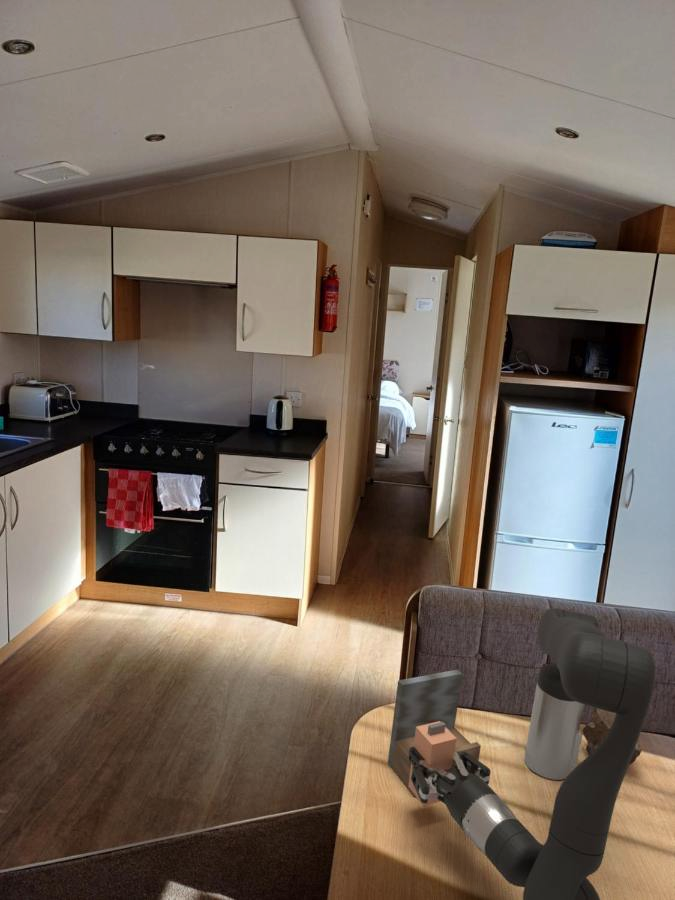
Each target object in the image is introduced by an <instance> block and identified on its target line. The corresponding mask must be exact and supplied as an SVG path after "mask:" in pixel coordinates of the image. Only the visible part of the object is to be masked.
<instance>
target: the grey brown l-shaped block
mask: <svg viewBox="0 0 675 900" xmlns="http://www.w3.org/2000/svg"><path fill="white" fill-rule="evenodd" d="M462 680H463V672H461V671H460V670H459V669H453V670H447V671H443V672H437V673H432V674H425V675H421V676H416V677H411V678H405V679H399V680H397V688H396V693H395V694H396V695H395V702H394V710H393V718H392V719H393V720H392V726H391V734H390V744H389V748H388V749H389V750H388V758H387V764H388V766H389V767H390V768H391V769H392V770H393V772H394V773H395V774H396V776H397V777H398V778H399V780H400V781H401V782H402V784H403V785H404V786H405V787H406V789H407V790H408V791H409V793H410V794H411V796H413V798H417V797H416V796H415V794H414V793H413V792H412V790H411V789H410V788H409V787H408V785H409V777H410V770H411V762H410V761H409V759H408V755H409V749H410V747H413V746H414V739H415V731H416V727H417V726H421V725H426V724H430V723H434V722H438V721H440V722H444V723H445V724H446V726H445V727H446V728H447V729H448V730H449V731H450V732H451V733H452V734H453V735H454V736H455V737H456V738H457V739H456V746H455V752H457V753H458V754H462V752H467V753H469V754H470V755H471V756H473V757H474V758H475V759H477V760H478V761H479V759H480V753H481V747H482V745H481V744H480V743H479V742H478V741H476V742H472V743H471V742H470V741H469V740H468V739H467V738H466V737H465V736H464V735H463V734H462V733H461V732H460V731H459V730H458V729H457V728H456V726H455V725H456V719H457V713H458V706H459V699H460V693H461V686H462ZM467 764H469V765H470V766H471V764H470V763H469V762H468V763H467Z"/></svg>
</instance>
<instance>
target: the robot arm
mask: <svg viewBox="0 0 675 900" xmlns="http://www.w3.org/2000/svg"><path fill="white" fill-rule="evenodd" d="M537 627H538V629H537V640H538V644H539V647H540V649H541V651H542V653H544V654H545V655H547V656H549V657H550V658H551V659H552V661H553V663H548V664H546V665H544V666H542V667H541V668H540V669H539V672H538V674H537V675H538V676H537V682H536V687H535V691H534V692H535V693H534V698H533V699H534V700H533V703H532V704H533V705H532V711H531V716H530V722H529V726H528V727H529V728H528V732H527V739H526V745H525V749H524V758H523V759H524V763H525V764H526V766H527V768H529V770H531V771H532V772H534V773H535V774H537V775H539V776H540V777H543V778H545V779H549V780H555V781H558V780H563V781H562V783H561V785H560V786H559V788H558V790H557V793H556V797H555V800H554V805H553V810H552V813H551V814H552V815H551V819H550V824H549V829H548V835H547V838H546V841H545V842H544V844H542V843H541V842H539V841H538V839H536V838H535V836H534V835H533V834H532V833H531V832H530V831H529V829H527V827H525V826H524V824H523V823H522V821H520V820H519V818H517V816H516V814H515V813H514V812H513V811H512V809H511V808H510V807H509V806H508V805H507V804H506V802H505V801H504V800H503V799H502V798H501V797H500V796H499V795H498V794H497V793H496V792H495V791H494V789H492V787H490V785H489V784H490V778H491V773H492V769H490V768H489V767H488V766H487V765H485V764H483V762H481V761H478V760H477V759H475V758H474V757H473V756H471V755H470V754H469V753H467V752H462V754H458V753H457V752H455V753H454V758H453V767H452V768H450V769H448V770H443V769H441V768H440V767H438V766H437V765H434V766H432V765H431V764H429V763H428V762H426V761H425V760H424V758H423V757H422V756H421V754H420V753H419V752H418V751H417V750H416V749H415V747H410V749H409V755H408V759H409V761H410V762H411V764H412V765H413V767H412V776H411V781H412V783H413V785H414V787H415V790H416V792H417V794H418V796H419V799H420V801H421V802H422V803H427V802H428V799H429V798H437V799H438V800H439V802H441V803H443V804H444V805H445V806H446V808H447V811H448V813H449V814H450V815H449V816H450V817H452V819H453V820H454V821H455V823H457V825H458V826H459V827H460V829H461V830H462V831H463V832H464V833H465V835H466V836H467V837H468V839H469V840H470V841H471V842H472V843H473V845H474V846H475V847H476V848H477V849H478V850H479V851H480V852H481V853H482V854H483V855H484V856H486V858H487V859H488V860H489V861H490V862H491V864H492V865H493V866H494V867H495V869H496V870H497V871H498V873H500V875H501V876H502V877H503V878H504V879H505V880H506V882H508V883H509V884H511V885H513V886H515V887H519V888H523V894H522V900H601V898H600V896H599V893H598V892H597V890H596V888H595V887H594V885H593V884H592V883H591V881H590V879H588V877H590V875H593V874H594V873H595V872H597V871H598V870H599V869H600V867H601V865H602V862H603V858H604V855H605V850H606V847H607V846H606V845H607V842H608V835H609V831H610V827H611V823H612V817H613V812H614V809H615V806H616V805H615V804H616V801H617V798H618V795H619V791H620V789H621V787H622V784H623V781H624V779H625V777H626V773H627V771H628V768H629V766H630V765H629V763H630V761H631V758H632V755H633V753H634V750H635V747H636V744H637V741H638V742H639V738H640V735H641V732H642V730H643V727H644V724H645V721H646V718H647V716H648V713H649V709H650V706H651V703H652V700H653V696H654V690H655V685H656V663H655V659H654V656H653V654H652V653H651V651H650V650H649V649H648V648H647V647H644V646H640V645H637V644H635V643H630V642H626V641H623V640H619V639H614V638H610V637H607V635H605V634H604V632H603V631H602V630H601V629H600V625H599V621H598V620H597V617H596V616H594V615H592V614H588V613H584V612H579V611H573V610H568V609H562V608H554V607H552V608H548V609H547V610H545V611H544V612H543V614H542V615H541V617H540V620H539V622H538V626H537ZM585 706H589V707H591V708H598V709H602V710H605V711H609V712H613V713H616V716H615V719H614V722H613V724H612V727H611V729H610V731H609V732H608V734H607V736H606V737H605V739H604V740H603V741H602V742H601V744H600V745H599V746H598V747H597V748H596V749H595V750H594V751H593V752H592V753H591V754H589V755H588V756H587V757H586V758H585V759H584V760H582V761H581V762H580V763H579V764H578V759H579V755H580V754H579V753H580V749H581V745H582V738H583V734H582V733H583V732H582V731H581V728H580V727H581V723H582V717H583V711H584V707H585ZM468 762H469V763H470V764H471V766H470V765H469V764H467V763H468ZM577 764H578V765H577ZM426 770H427V771H428V772H429V774H427V773H426ZM436 775H437V780H436ZM426 781H427V782H426ZM420 801H419V802H420ZM421 802H420V803H421ZM422 803H421V804H422Z"/></svg>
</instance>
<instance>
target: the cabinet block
mask: <svg viewBox="0 0 675 900" xmlns="http://www.w3.org/2000/svg"><path fill="white" fill-rule="evenodd" d="M445 726H446V724H445V723H444V722H440V721H438V722H434V723H430V724H426V725H421V726H417V727H416V731H415V739H414V746H413V747H415V749H416V750H417V751H418V752H419V753H420V754H421V756H422V757H423V758H424V760H425V761H426V762H428V763H429V764H431V765H432V766H434V765H437V766H438V767H440V768H441V769H443V770H448V769H450V768H452V767H453V758H454V753H455V746H456V739H457V738H456V737H455V736H454V735H453V734H452V733H451V732H450V731H449V730H448V729H447V728H446V727H445ZM412 767H413V765H412V764H411V770H410V777H409V785H408V787H409V788H410V789H411V790H412V792H413V793H414V794H415V796H416V797H415V798H416V799H417V800H418V801H419V803H420V804H421V805H422V806H423V807H426V806H430V805H432V804H436V803H439V802H440V801H439V800H438V799H437V798H429V799H428V802H427V803H422V802H421V801H420V799H419V796H418V794H417V792H416V790H415V787H414V785H413V783H412V781H411V776H412ZM426 773H427V774H429V772H428V771H427V770H426ZM436 780H437V775H436ZM426 782H427V781H426Z"/></svg>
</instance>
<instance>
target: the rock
mask: <svg viewBox="0 0 675 900" xmlns="http://www.w3.org/2000/svg"><path fill="white" fill-rule="evenodd" d="M615 716H616V713H613V712H609V711H605V710H602V709H598V708H595V707H593V710H592V713H591V715H590V717H589V719H588V721H587V722H586V725H585V726H584V727H583V728H582V733H583V734H582V735H584V738H585V740H586V742H587V745H586V748H585V750H586V751H587V753H588V754H589V755H590V754H591V753H592V752H593V751H594V750H595V749H596V748H597V747H598V746H599V745H600V744H601V742H602V741H603V740H604V739H605V737H606V736H607V734H608V732H609V731H610V729H611V727H612V724H613V722H614V719H615ZM642 751H643V750H642V748H641V745H640V743H639V740H638V741H637V744H636V747H635V750H634V753H633V755H632V758H631V761H630V763H629V766H630V765H631V764H633V763H635V761H636V759H637V758H638V757H639V756H640V755H641V753H642Z"/></svg>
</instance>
